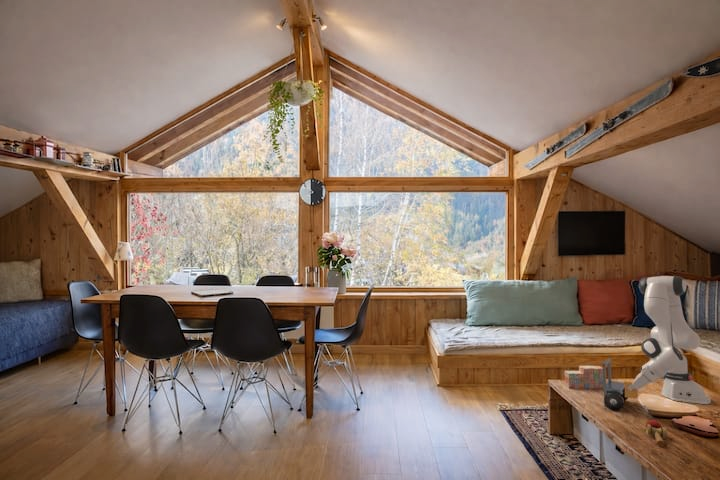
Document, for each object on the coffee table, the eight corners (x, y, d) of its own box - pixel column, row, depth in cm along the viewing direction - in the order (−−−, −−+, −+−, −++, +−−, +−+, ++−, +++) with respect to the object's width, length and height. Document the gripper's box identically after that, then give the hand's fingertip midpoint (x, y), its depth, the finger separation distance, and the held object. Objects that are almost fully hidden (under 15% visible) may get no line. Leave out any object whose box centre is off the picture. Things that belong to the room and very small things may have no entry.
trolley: (630, 401, 245) (628, 359, 246) (623, 412, 229) (621, 367, 230) (610, 397, 252) (609, 356, 252) (602, 408, 235) (601, 364, 236)
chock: (637, 396, 229) (637, 380, 229) (636, 398, 225) (635, 383, 225) (626, 394, 232) (626, 379, 232) (625, 396, 228) (624, 381, 228)
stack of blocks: (568, 388, 269) (568, 368, 269) (564, 385, 275) (564, 365, 276) (604, 388, 268) (604, 368, 268) (599, 385, 274) (599, 365, 275)
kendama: (673, 451, 189) (663, 429, 205) (670, 437, 189) (660, 416, 205) (652, 451, 192) (644, 430, 209) (649, 438, 192) (641, 417, 208)
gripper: (649, 362, 232) (628, 377, 238) (643, 371, 216) (621, 387, 222) (659, 372, 229) (638, 387, 235) (654, 381, 214) (631, 398, 220)
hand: (629, 387), depth 229 cm, fingers closed on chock, 5 cm apart
